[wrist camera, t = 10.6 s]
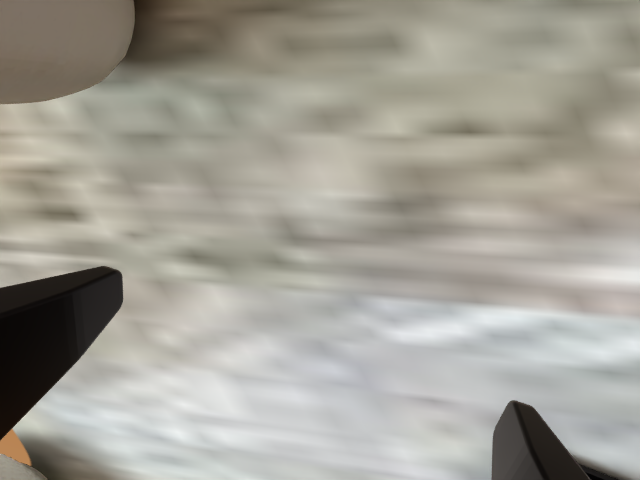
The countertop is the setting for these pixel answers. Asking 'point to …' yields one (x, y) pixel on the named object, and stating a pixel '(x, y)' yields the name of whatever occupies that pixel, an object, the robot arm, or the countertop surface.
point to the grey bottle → (60, 46)
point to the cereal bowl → (17, 470)
